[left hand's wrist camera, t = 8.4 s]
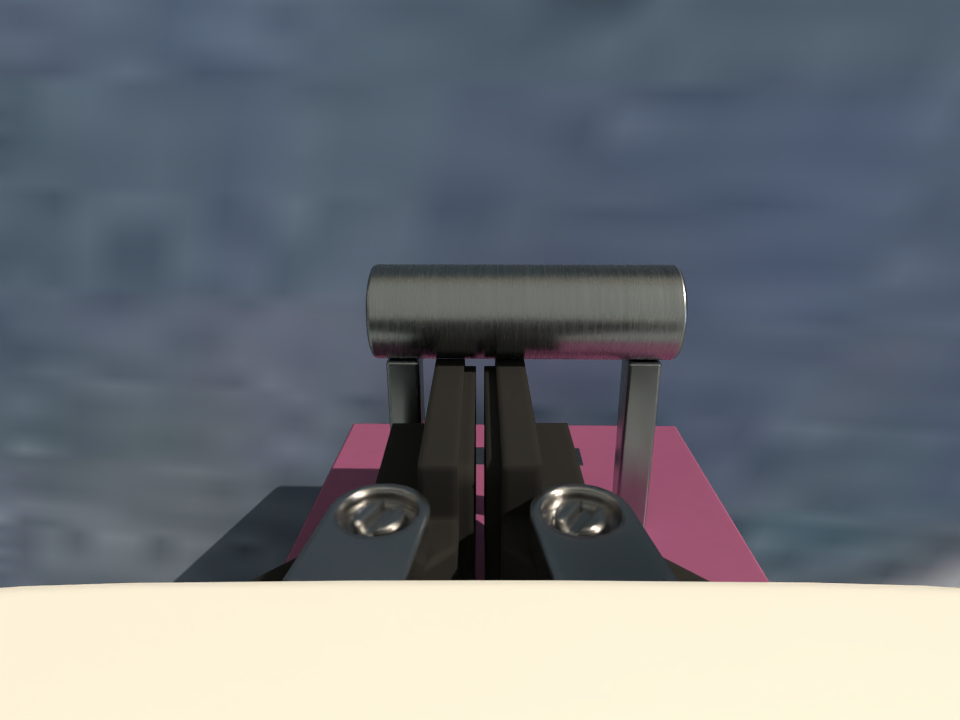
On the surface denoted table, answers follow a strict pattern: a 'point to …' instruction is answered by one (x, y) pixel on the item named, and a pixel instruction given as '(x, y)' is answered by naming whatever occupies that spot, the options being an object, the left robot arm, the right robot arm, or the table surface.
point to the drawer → (551, 335)
